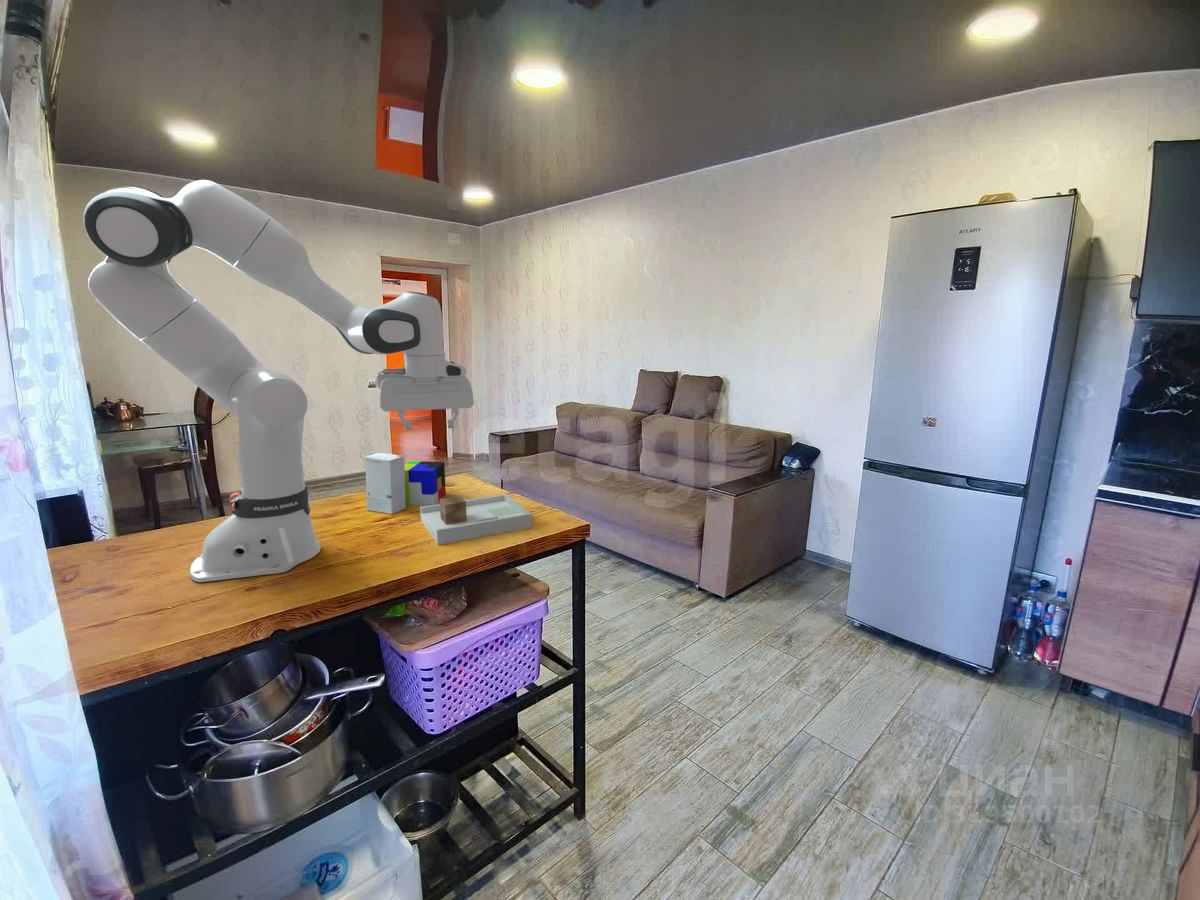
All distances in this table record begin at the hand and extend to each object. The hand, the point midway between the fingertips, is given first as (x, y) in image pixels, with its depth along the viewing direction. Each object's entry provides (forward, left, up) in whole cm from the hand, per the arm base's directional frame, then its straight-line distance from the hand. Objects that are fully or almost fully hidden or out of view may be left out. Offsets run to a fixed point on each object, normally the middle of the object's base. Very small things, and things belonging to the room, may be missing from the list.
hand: (430, 428), depth 118 cm
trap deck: (+9, 0, -25) cm, 27 cm away
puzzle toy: (+2, +25, -25) cm, 36 cm away
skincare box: (-8, +21, -25) cm, 34 cm away
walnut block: (+4, 0, -23) cm, 23 cm away
